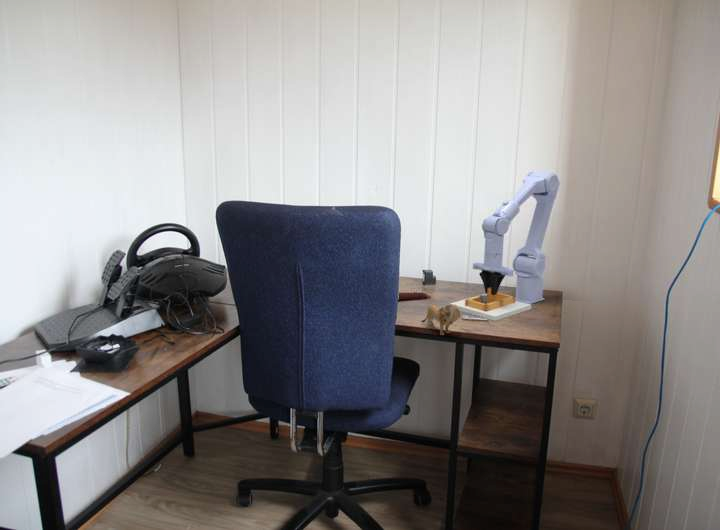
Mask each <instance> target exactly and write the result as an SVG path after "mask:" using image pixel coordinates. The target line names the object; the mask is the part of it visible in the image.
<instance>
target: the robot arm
mask: <svg viewBox="0 0 720 530" xmlns="http://www.w3.org/2000/svg"><path fill="white" fill-rule="evenodd" d="M522 183H523V184H522V185H521V186H520V188H518V190H517V192H515V194H514V195H513V197H512V198H511V199H507V200H504V201H503V202H502V204H501V205H500V206H499V207H498V208H497V209H496V211H494V213H493V214H492V215H488V216H487V217H486V218H485V219H484V220H483V222H482V224H481V229H482V231H483V237H484V239H485V240H484V256H483V257H484V258H483V263H481V262H473V263H472V269H473V270H479V271H481V272H479V276H480V278H481V280H482V284H483V288H484V291H485V293H484V294H487V288H489V287H491V295H496V294H497V292H498V291H499V288H500V286H501V284H502V281H503V280H504V278H505V277H506V276H507V277H508V278H509V277H514V271H515V275H516V285H515V286H516V288H515V297H516V300H515V301H519V302H523V303H527V304H531V305H532V304H535V303H538V302H541V301H544V300H545V298H544V297H543V292H544V279H543V277H542V275H543V274H544V272H545V270H546V259H547V256H546V255H545V253H544V252H543V250H542V246H543V243H544V240H545V236H546V232H547V228H548V225H549V221H550V218H551V214H552V210H553V207H554V203H555V200H556V199H557V195H558V191H559V187H560V184H561V182H560V180H559V177H558V175H557V174H556V172H550V173H549V172H548V173H547V172H533V171H530V172H528V173H527V174H526V176H524V178H523V181H522ZM530 197H533V199H535V201H536V205H535V208H534V211H533V212H534V213H533V216H532V219H531V221H530V222H531V223H530V227H529V230H528V234H527V237H526V240H525V244H524V246H522V247H520V248H519V249H518V250H517V253H516V255H515V256H514V259H513V260H512V269H511V268H509V267H508V268H507V267H504V266H503V255H504V253H503V252H504V239H505V238H504V237H505V234H506V233H508V231H509V227H510V225H511V222H512V221H513V220H514V219H515V217H516V216H518V214H519V213H520V211H521V209H520V207H521V206H522V205H523V204H524V203H525V202H526V201H527V200H528V199H529V198H530ZM498 293H499V292H498Z"/></svg>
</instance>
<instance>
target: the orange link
mask: <svg viewBox="0 0 720 530" xmlns="http://www.w3.org/2000/svg"><path fill="white" fill-rule="evenodd" d="M484 294H485V295H483V294H482V295H483V296H487V304H484V303H481V299H480V296H479V295H476V296H477V297H475V296H473V297H474V298H472V297H469V298H470V299H468V298H466V299H467V300H465V299H464V300H465V306H468V307H471V308H475V309H479V310H482V311H486V312H487V311H490V310H493V309H496V308H500V307H503V306H506V305H509V304H513V303H515V300H516V296H513V295H510V294H505V293H501V292H497V294H496V295H491V287H489V288H487V294H486V293H484Z"/></svg>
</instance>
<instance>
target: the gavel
mask: <svg viewBox="0 0 720 530" xmlns="http://www.w3.org/2000/svg"><path fill="white" fill-rule="evenodd" d="M398 293H399V300H398V301H415V300H416V301H417V300H427V299H429V298H431V297H432V295H431V294H429V293H424V292H398Z"/></svg>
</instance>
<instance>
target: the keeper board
mask: <svg viewBox="0 0 720 530" xmlns="http://www.w3.org/2000/svg"><path fill="white" fill-rule="evenodd" d="M485 294H486V293H483V294H479V295H476V296H473V297H469V298H465V299H461V300H458V301H455V302H454V301H453V302H450V303H449V305H451V304H455V305H457V308H458V309H459V310H460V311H461V312H462V313H465V314H468V315H469V314H470V315H472V316H475V315H476V316H475V317H479V316H480V318H482V317H483V319H486V320H489V319H490V320H489V321H493V322H497V321H499V320H504V319H505V318H508V317H512V316H515V315H517V314H521V313H523V312H526V311H529V310H531V309H532V304H527V303H523V302H519V301H515V303H513V304H509V305H506V306H503V307H500V308H496V309H493V310H490V311H487V312H486V311H482V310H479V309H475V308H471V307H468V306H465V300H467V299H470V298H474V297H477V296H480V299H481V303H484V304H487V296H483V295H485Z"/></svg>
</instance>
